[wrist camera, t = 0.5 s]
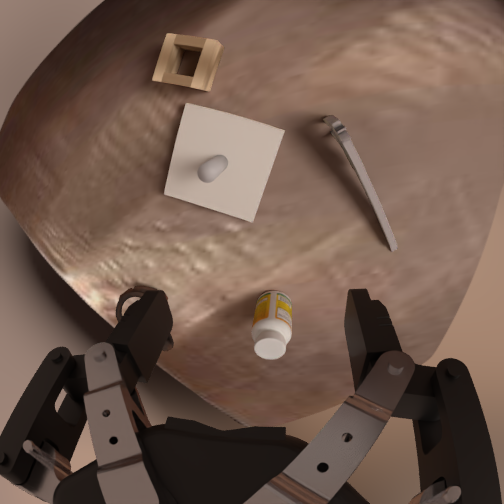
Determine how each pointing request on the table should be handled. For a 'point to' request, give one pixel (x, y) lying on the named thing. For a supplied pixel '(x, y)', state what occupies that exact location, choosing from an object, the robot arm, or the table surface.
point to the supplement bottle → (272, 324)
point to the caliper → (361, 175)
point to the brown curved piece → (139, 292)
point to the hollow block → (173, 57)
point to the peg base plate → (222, 161)
